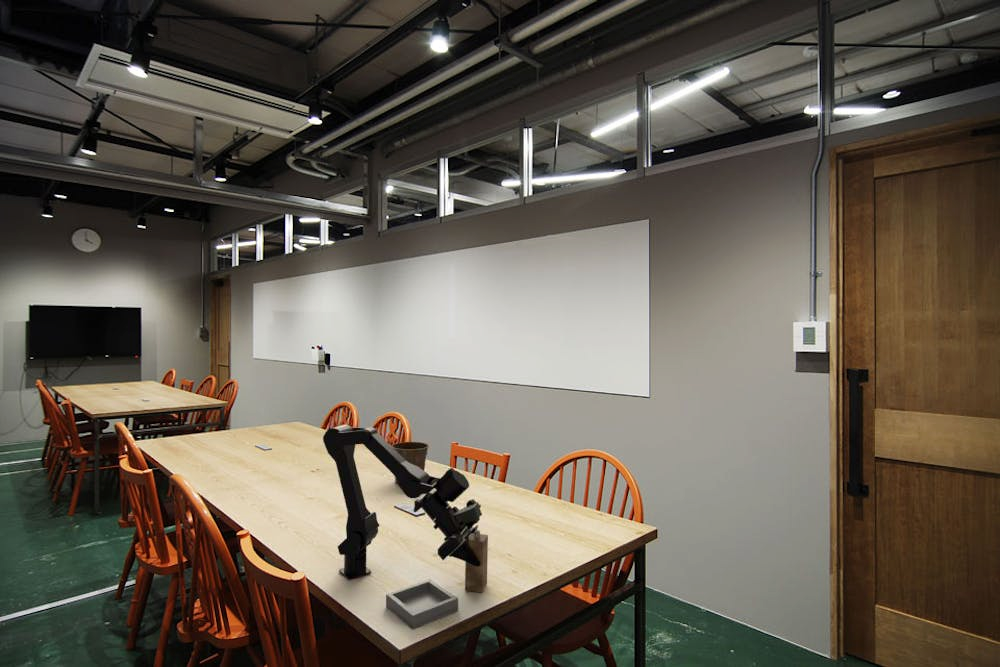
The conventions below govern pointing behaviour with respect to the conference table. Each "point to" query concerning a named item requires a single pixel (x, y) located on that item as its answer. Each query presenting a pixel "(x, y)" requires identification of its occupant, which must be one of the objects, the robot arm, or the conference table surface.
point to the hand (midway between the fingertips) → (481, 561)
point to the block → (474, 574)
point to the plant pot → (412, 453)
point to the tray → (421, 603)
